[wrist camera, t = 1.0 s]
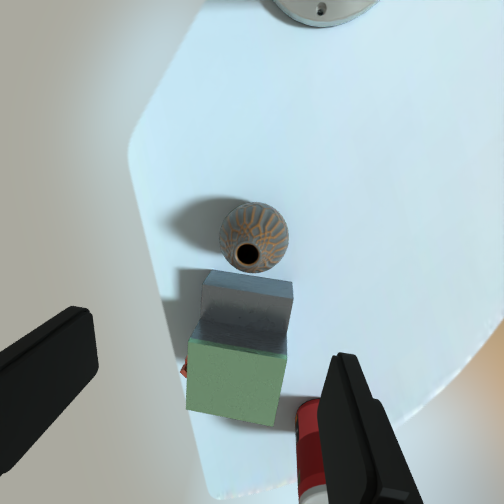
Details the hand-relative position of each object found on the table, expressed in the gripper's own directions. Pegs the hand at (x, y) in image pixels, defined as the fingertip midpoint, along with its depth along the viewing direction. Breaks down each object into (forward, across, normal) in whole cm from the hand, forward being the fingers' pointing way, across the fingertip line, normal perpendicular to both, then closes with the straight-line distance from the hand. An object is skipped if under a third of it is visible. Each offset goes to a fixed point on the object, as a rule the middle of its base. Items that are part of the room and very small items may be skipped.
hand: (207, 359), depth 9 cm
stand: (+20, 0, +13) cm, 24 cm away
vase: (+20, 0, 0) cm, 20 cm away
